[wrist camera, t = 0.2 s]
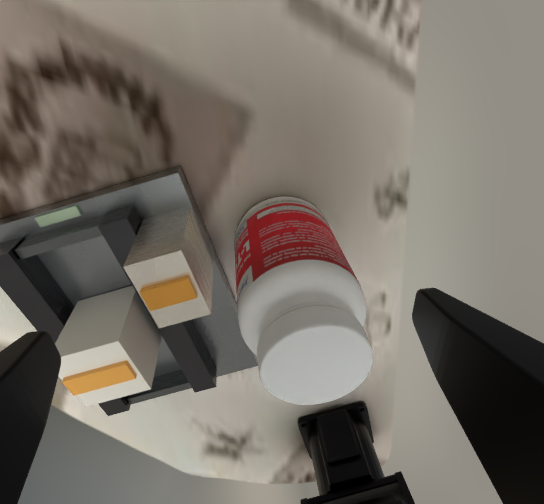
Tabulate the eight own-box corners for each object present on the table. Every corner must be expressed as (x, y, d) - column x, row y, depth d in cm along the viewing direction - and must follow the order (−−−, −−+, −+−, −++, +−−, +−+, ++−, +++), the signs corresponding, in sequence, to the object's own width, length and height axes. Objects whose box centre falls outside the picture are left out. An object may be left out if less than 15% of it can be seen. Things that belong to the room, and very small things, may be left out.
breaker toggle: (163, 328, 25) (150, 393, 21) (108, 344, 26) (83, 411, 21) (137, 284, 23) (116, 345, 19) (77, 301, 23) (43, 365, 19)
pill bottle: (226, 200, 22) (228, 324, 13) (325, 186, 23) (397, 297, 13) (242, 282, 26) (252, 428, 16) (328, 269, 26) (388, 405, 17)
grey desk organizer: (257, 353, 29) (264, 429, 24) (124, 390, 30) (101, 472, 24) (180, 165, 21) (164, 214, 16) (-3, 220, 21) (-82, 286, 16)
